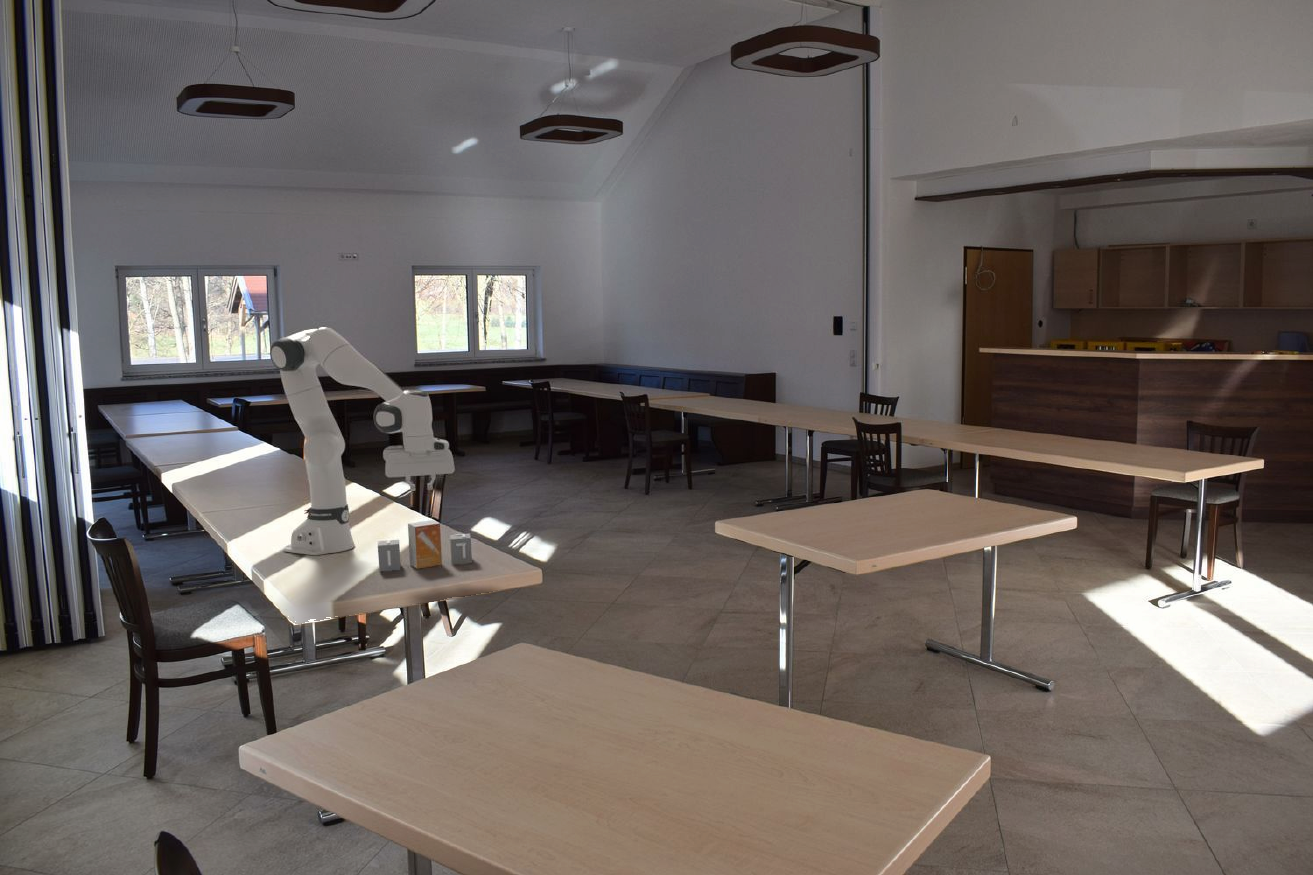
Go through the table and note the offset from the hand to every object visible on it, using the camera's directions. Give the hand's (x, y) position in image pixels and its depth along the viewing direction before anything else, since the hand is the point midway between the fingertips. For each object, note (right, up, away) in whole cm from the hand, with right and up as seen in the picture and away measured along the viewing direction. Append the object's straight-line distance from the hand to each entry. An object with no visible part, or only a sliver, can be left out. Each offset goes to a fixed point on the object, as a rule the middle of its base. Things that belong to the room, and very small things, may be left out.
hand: (421, 490), depth 291 cm
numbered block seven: (+11, -22, +6) cm, 26 cm away
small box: (+1, -23, +3) cm, 23 cm away
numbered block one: (-10, -24, 0) cm, 25 cm away
